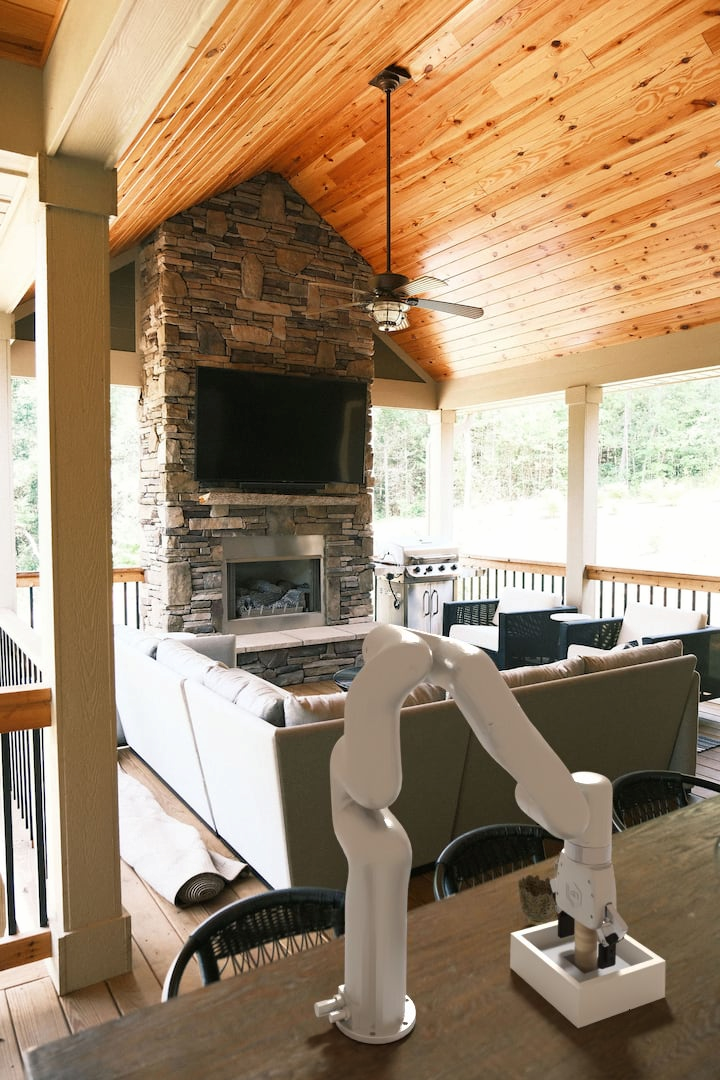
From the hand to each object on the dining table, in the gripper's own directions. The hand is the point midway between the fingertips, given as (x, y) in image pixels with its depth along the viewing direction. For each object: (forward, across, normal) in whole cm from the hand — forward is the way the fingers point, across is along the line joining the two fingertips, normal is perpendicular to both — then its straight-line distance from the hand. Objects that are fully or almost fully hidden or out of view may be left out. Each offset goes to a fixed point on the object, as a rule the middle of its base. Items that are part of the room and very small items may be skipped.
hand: (585, 950), depth 126 cm
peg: (+4, 0, 0) cm, 4 cm away
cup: (+6, -18, +4) cm, 19 cm away
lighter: (+6, -22, +16) cm, 28 cm away
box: (+5, 0, 0) cm, 5 cm away
